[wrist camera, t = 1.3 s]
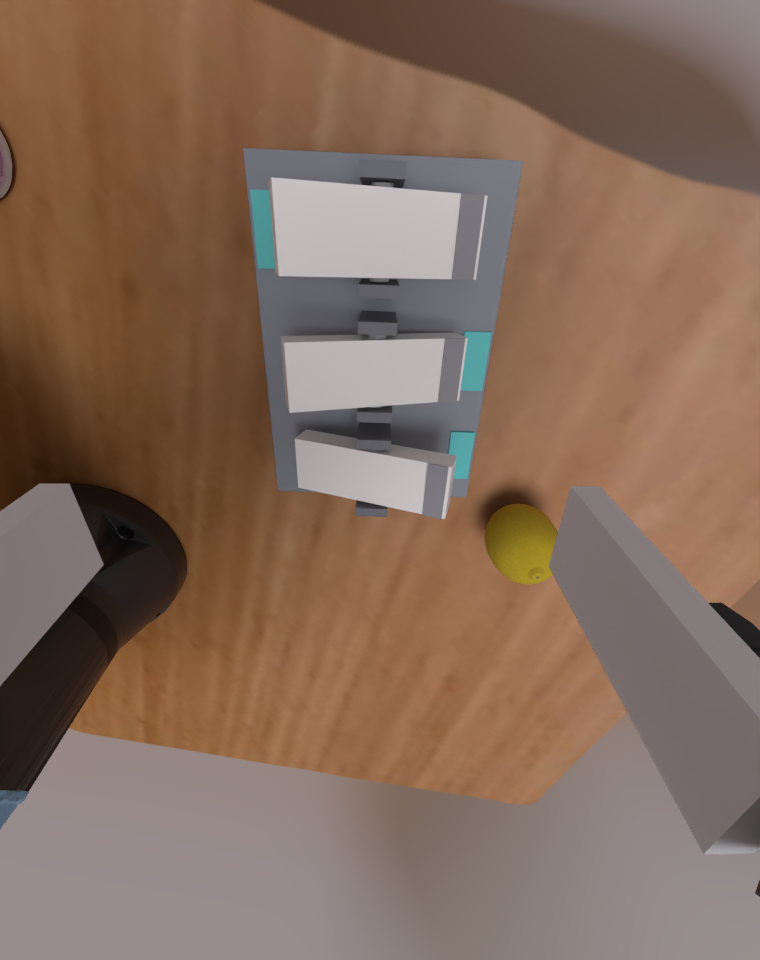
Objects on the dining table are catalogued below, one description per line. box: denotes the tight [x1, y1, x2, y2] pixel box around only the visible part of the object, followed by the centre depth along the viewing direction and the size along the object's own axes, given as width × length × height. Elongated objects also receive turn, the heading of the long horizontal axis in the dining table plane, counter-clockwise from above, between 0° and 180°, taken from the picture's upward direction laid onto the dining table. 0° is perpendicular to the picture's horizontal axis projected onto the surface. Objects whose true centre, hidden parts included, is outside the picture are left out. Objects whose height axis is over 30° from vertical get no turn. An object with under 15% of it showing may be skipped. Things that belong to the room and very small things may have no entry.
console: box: [243, 148, 523, 517], centre depth 25 cm, size 14×20×8 cm
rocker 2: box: [281, 332, 468, 413], centre depth 23 cm, size 10×4×2 cm, turn 87°
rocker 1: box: [268, 177, 487, 282], centre depth 20 cm, size 10×4×2 cm, turn 87°
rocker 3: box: [295, 429, 457, 519], centre depth 26 cm, size 10×4×2 cm, turn 88°
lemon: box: [485, 504, 558, 585], centre depth 33 cm, size 6×6×8 cm
